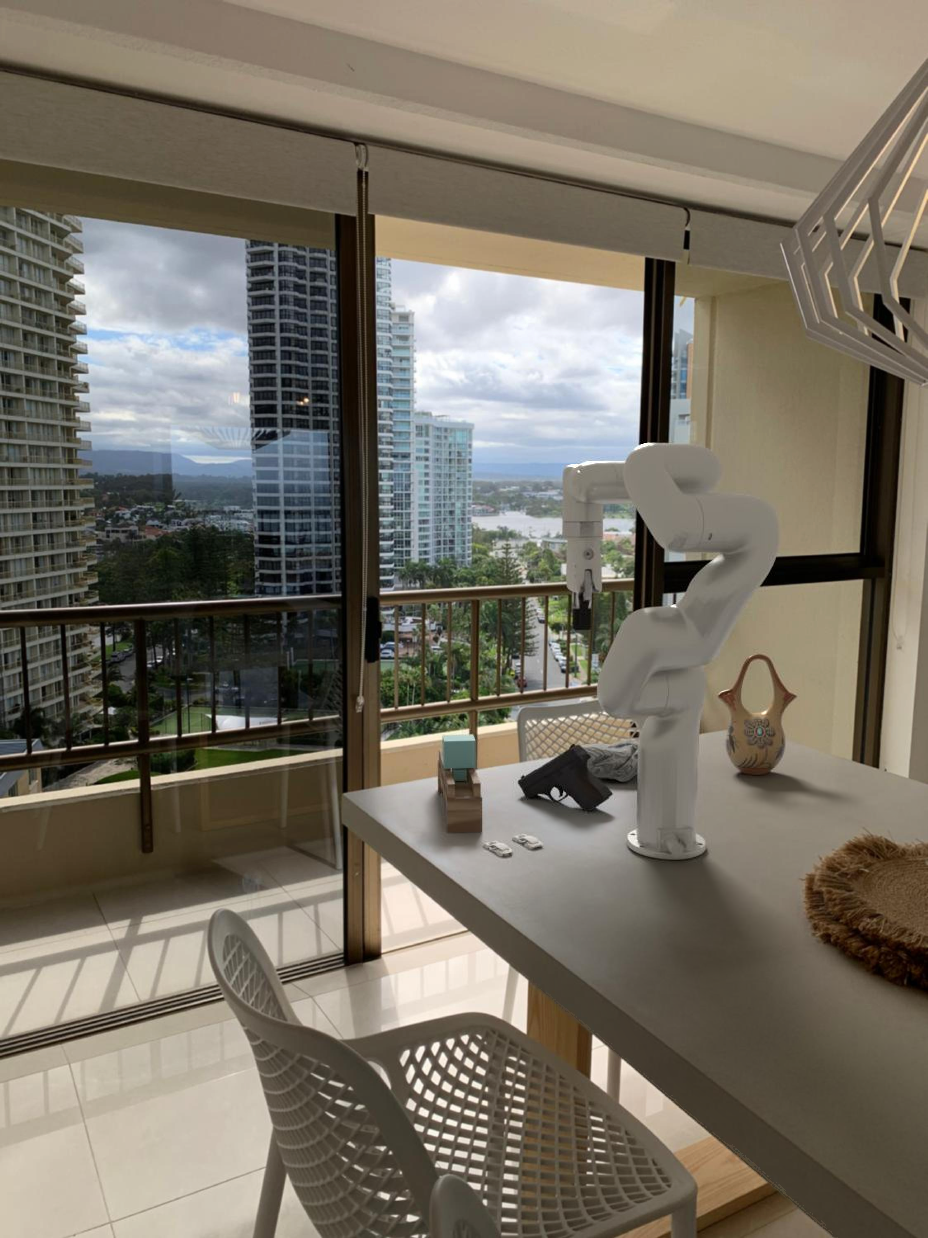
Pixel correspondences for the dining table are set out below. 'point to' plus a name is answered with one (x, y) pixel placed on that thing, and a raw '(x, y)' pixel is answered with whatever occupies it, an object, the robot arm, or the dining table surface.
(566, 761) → the handgun
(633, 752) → the decorative stone
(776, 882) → the dining table surface
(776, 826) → the dining table surface
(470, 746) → the teal rectangular block
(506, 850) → the white curved pieces
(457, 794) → the beam
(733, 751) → the ceramic vessel
